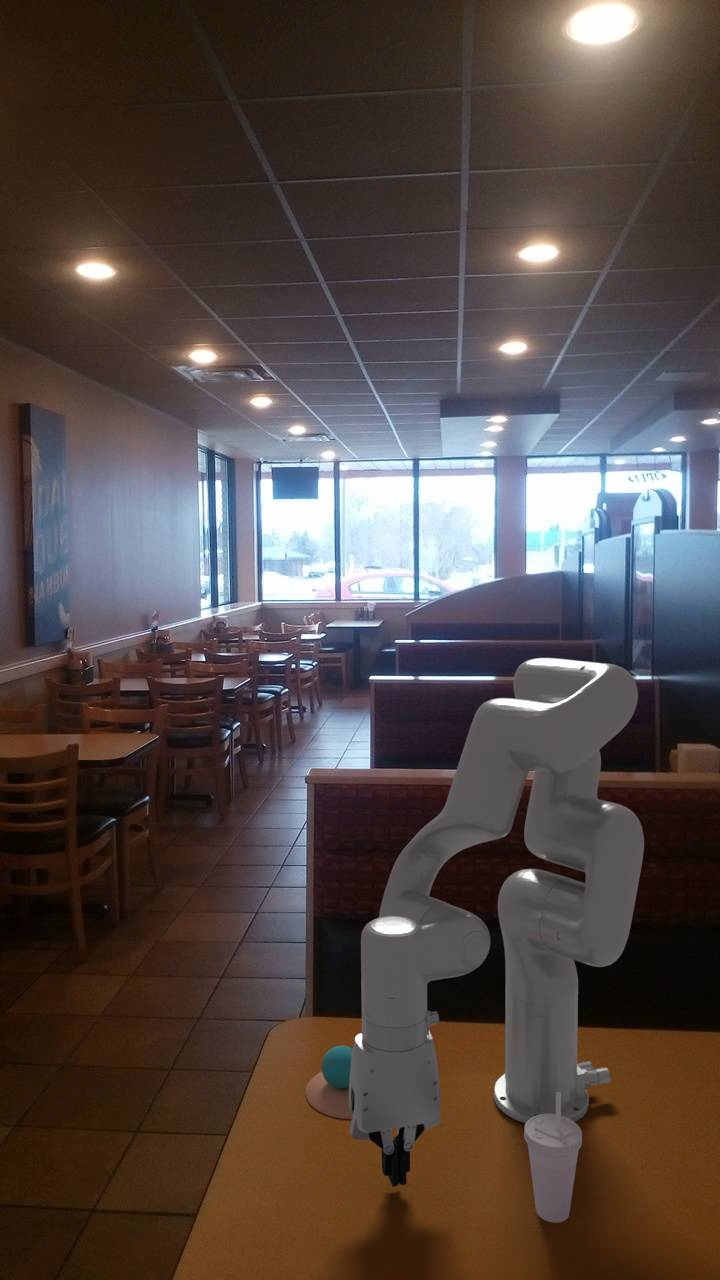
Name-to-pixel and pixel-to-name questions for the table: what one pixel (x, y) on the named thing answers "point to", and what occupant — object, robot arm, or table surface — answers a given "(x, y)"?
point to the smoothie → (553, 1162)
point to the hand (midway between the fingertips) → (395, 1177)
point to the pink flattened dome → (328, 1098)
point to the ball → (337, 1066)
